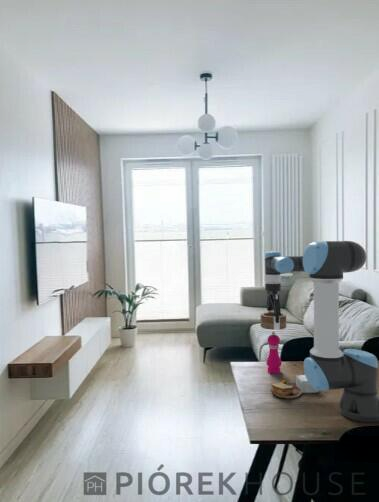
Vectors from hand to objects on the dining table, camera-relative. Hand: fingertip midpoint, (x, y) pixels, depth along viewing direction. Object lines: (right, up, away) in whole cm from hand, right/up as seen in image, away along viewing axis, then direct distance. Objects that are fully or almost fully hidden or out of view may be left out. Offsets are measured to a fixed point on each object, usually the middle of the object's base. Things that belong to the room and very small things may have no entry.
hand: (273, 326), depth 184 cm
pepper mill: (0, -23, 0) cm, 23 cm away
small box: (+10, -24, -22) cm, 33 cm away
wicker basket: (0, 0, 0) cm, 0 cm away
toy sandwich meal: (0, -24, -26) cm, 35 cm away
